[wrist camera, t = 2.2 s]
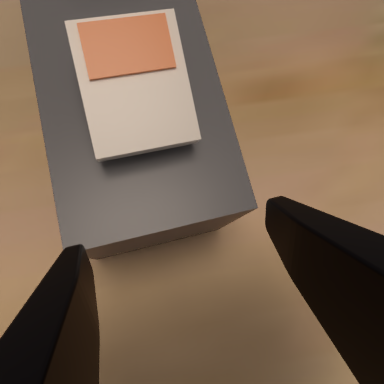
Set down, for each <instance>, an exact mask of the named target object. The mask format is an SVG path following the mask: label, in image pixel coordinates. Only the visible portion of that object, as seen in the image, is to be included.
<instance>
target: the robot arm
mask: <svg viewBox="0 0 384 384" xmlns="http://www.w3.org/2000/svg"><path fill="white" fill-rule="evenodd" d="M265 225H266V229H267V232H268V234H269V236H270V238H271V240H272V242H273V244H274V246H275V248H276V250H277V252H278V254H279V256H280V258H281V260H282V262H283V264H284V266H285V268H286V270H287V272H288V274H289V276H290V277H291V279H292V281H293V282H294V284H295V285H296V287H297V288H298V290H299V292H300V293H301V295H302V296H303V298H304V299H305V301H306V302H307V304H308V305H309V307H310V309H311V310H312V312H313V313H314V315H315V316H316V318H317V319H318V321H319V322H320V324H321V325H322V327H323V329H324V330H325V332H326V333H327V335H328V336H329V338H330V339H331V341H332V342H333V344H334V345H335V347H336V349H337V350H338V352H339V353H340V355H341V356H342V358H343V359H344V361H345V362H346V364H347V366H348V367H349V369H350V370H351V372H352V373H353V375H354V376H355V378H356V379H357V381H358V382H359V384H384V235H381V234H379V233H376V232H374V231H371V230H368V229H366V228H363V227H361V226H358V225H356V224H353V223H350V222H348V221H345V220H343V219H340V218H338V217H335V216H332V215H330V214H327V213H325V212H322V211H320V210H317V209H314V208H312V207H309V206H307V205H304V204H302V203H299V202H296V201H294V200H291V199H289V198H286V197H283V196H279V197H274V198H270V199H268V200H267V203H266V218H265ZM99 347H100V336H99V320H98V311H97V302H96V293H95V284H94V275H93V270H92V267H91V264H90V261H89V258H88V255H87V253H86V250H85V247H84V246H83V245H82V244H77V245H73V246H69V247H66V248H65V249H64V250H63V251H62V252H61V254H60V255H59V257H58V258H57V259H56V261H55V262H54V264H53V265H52V267H51V268H50V269H49V271H48V272H47V274H46V275H45V276H44V278H43V279H42V281H41V282H40V283H39V285H38V286H37V288H36V289H35V290H34V292H33V293H32V295H31V296H30V297H29V299H28V300H27V302H26V303H25V304H24V306H23V307H22V309H21V310H20V311H19V313H18V314H17V316H16V317H15V319H14V320H13V321H12V323H11V324H10V326H9V327H8V328H7V330H6V331H5V333H4V334H3V335H2V337H1V338H0V384H99Z"/></svg>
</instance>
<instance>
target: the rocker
mask: <svg viewBox="0 0 384 384" xmlns="http://www.w3.org/2000/svg"><path fill="white" fill-rule="evenodd" d="M64 22H65V26H66V30H67V35H68V39H69V44H70V48H71V52H72V57H73V61H74V65H75V70H76V74H77V79H78V83H79V87H80V92H81V96H82V101H83V105H84V109H85V114H86V118H87V123H88V127H89V131H90V136H91V140H92V145H93V149H94V153H95V158H96V160H97V161H98V162H102V161H108V160H113V159H118V158H123V157H128V156H133V155H138V154H143V153H149V152H154V151H159V150H164V149H169V148H174V147H179V146H185V145H190V144H195V143H197V142H198V141H199V140H201V135H200V130H199V125H198V121H197V116H196V111H195V106H194V101H193V97H192V92H191V87H190V82H189V78H188V73H187V68H186V63H185V59H184V54H183V49H182V44H181V40H180V35H179V30H178V25H177V21H176V16H175V11H174V8H172V9H163V10H155V11H146V12H137V13H128V14H120V15H111V16H102V17H93V18H84V19H76V20H67V21H64Z"/></svg>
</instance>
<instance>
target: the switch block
mask: <svg viewBox="0 0 384 384" xmlns="http://www.w3.org/2000/svg"><path fill="white" fill-rule="evenodd" d="M20 4H21V10H22V15H23V21H24V27H25V33H26V39H27V44H28V50H29V56H30V62H31V67H32V73H33V79H34V85H35V90H36V96H37V102H38V108H39V113H40V119H41V125H42V131H43V136H44V142H45V148H46V154H47V159H48V165H49V171H50V177H51V182H52V188H53V194H54V200H55V206H56V211H57V217H58V223H59V229H60V234H61V240H62V246H63V250H64V249H65V248H66V247H69V246H73V245H77V244H82V245H83V246H84V247H85V250H86V253H87V255H88V258H91V259H100V258H104V257H109V256H113V255H117V254H121V253H125V252H129V251H133V250H137V249H141V248H145V247H149V246H153V245H157V244H161V243H165V242H169V241H173V240H177V239H181V238H185V237H189V236H193V235H197V234H201V233H205V232H209V231H213V230H217V229H220V228H221V227H223V226H225V225H227V224H229V223H231V222H233V221H234V220H236V219H238V218H240V217H242V216H244V215H246V214H247V213H249V212H251V211H253V210H255V209H257V208H258V207H257V203H256V200H255V197H254V193H253V190H252V187H251V183H250V180H249V177H248V173H247V170H246V167H245V163H244V160H243V157H242V153H241V150H240V146H239V143H238V140H237V136H236V133H235V130H234V126H233V123H232V120H231V116H230V113H229V110H228V106H227V103H226V100H225V96H224V93H223V89H222V86H221V83H220V79H219V76H218V73H217V69H216V66H215V63H214V59H213V56H212V53H211V49H210V46H209V43H208V39H207V36H206V32H205V29H204V26H203V22H202V19H201V16H200V12H199V9H198V6H197V2H196V0H20ZM172 8H174V11H175V16H176V21H177V25H178V30H179V35H180V40H181V44H182V49H183V54H184V59H185V63H186V68H187V73H188V78H189V82H190V87H191V92H192V97H193V101H194V106H195V111H196V116H197V121H198V125H199V130H200V135H201V140H199V141H198V142H197V143H195V144H190V145H185V146H179V147H174V148H169V149H164V150H159V151H154V152H149V153H143V154H138V155H133V156H128V157H123V158H118V159H113V160H108V161H102V162H98V161H97V160H96V158H95V153H94V149H93V145H92V140H91V136H90V131H89V127H88V123H87V118H86V114H85V109H84V105H83V101H82V96H81V92H80V87H79V83H78V79H77V74H76V70H75V65H74V61H73V57H72V52H71V48H70V44H69V39H68V35H67V30H66V26H65V22H64V21H67V20H76V19H84V18H93V17H102V16H111V15H120V14H128V13H137V12H146V11H155V10H163V9H172Z"/></svg>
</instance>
